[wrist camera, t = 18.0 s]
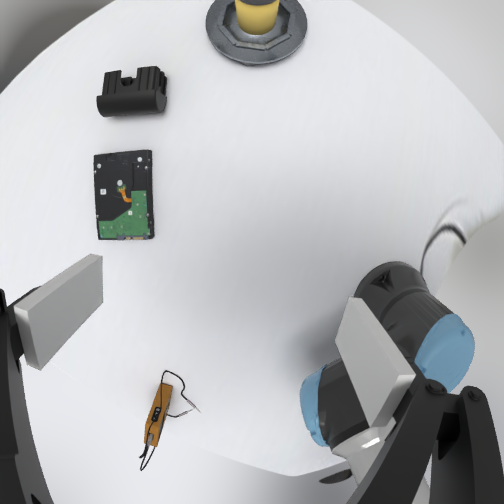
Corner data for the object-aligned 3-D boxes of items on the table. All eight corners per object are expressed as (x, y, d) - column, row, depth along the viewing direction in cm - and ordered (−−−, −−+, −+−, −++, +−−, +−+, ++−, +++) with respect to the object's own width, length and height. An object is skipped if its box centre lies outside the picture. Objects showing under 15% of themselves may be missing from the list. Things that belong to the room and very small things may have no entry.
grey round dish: (309, 1, 38) (313, -9, 34) (297, 75, 42) (300, 68, 39) (218, -11, 37) (216, -22, 33) (199, 61, 41) (195, 54, 38)
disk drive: (99, 155, 46) (104, 237, 50) (92, 155, 44) (97, 241, 48) (153, 149, 46) (156, 236, 50) (147, 148, 44) (151, 240, 48)
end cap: (112, 119, 44) (94, 114, 38) (116, 81, 42) (98, 72, 36) (166, 115, 44) (154, 109, 38) (170, 76, 42) (158, 64, 36)
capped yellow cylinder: (279, 8, 36) (287, -31, 24) (273, 39, 38) (280, 3, 26) (240, 3, 36) (236, -37, 24) (232, 33, 37) (226, -3, 26)
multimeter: (197, 423, 62) (185, 490, 43) (156, 412, 62) (135, 477, 42) (209, 381, 58) (195, 456, 39) (162, 368, 58) (135, 439, 38)
